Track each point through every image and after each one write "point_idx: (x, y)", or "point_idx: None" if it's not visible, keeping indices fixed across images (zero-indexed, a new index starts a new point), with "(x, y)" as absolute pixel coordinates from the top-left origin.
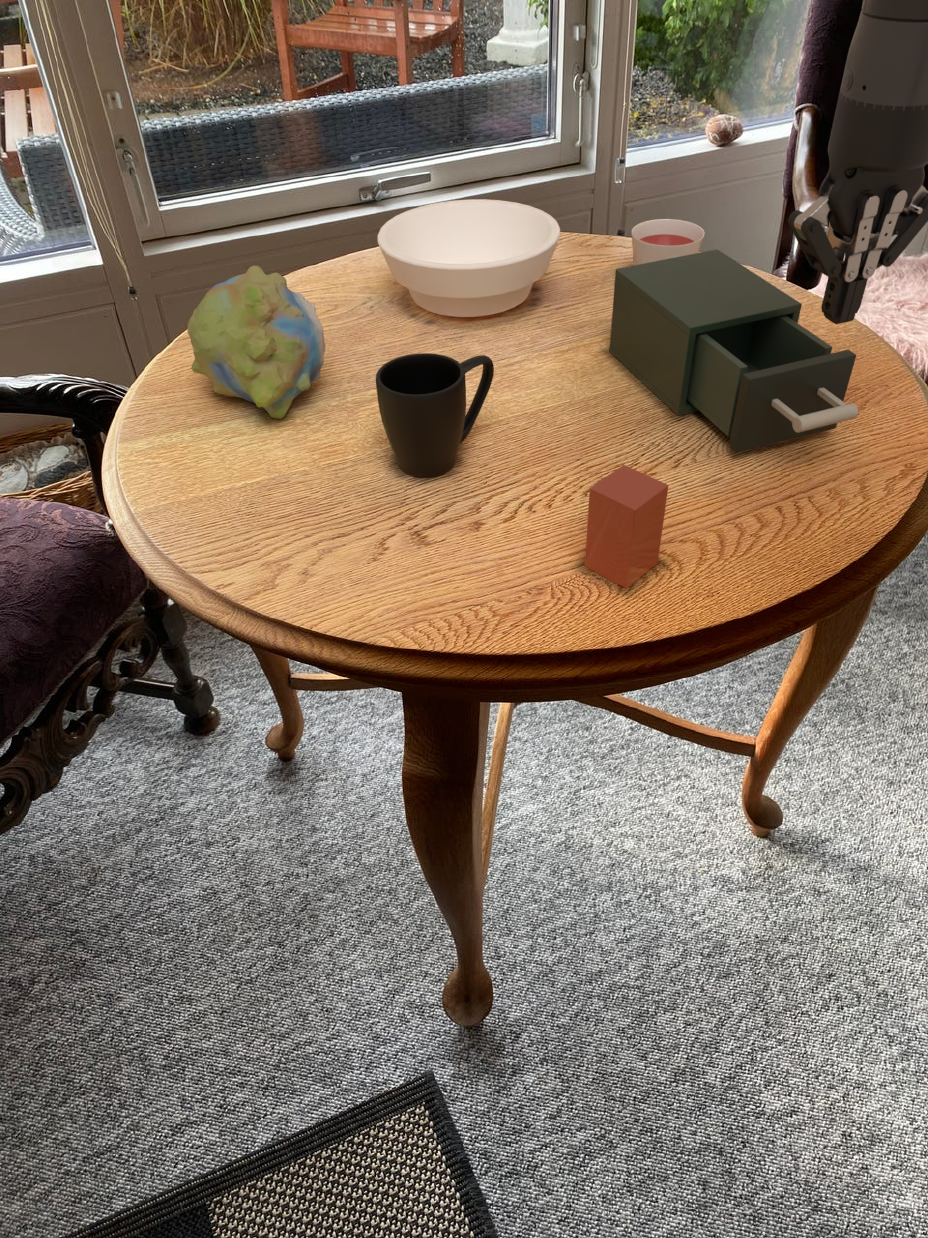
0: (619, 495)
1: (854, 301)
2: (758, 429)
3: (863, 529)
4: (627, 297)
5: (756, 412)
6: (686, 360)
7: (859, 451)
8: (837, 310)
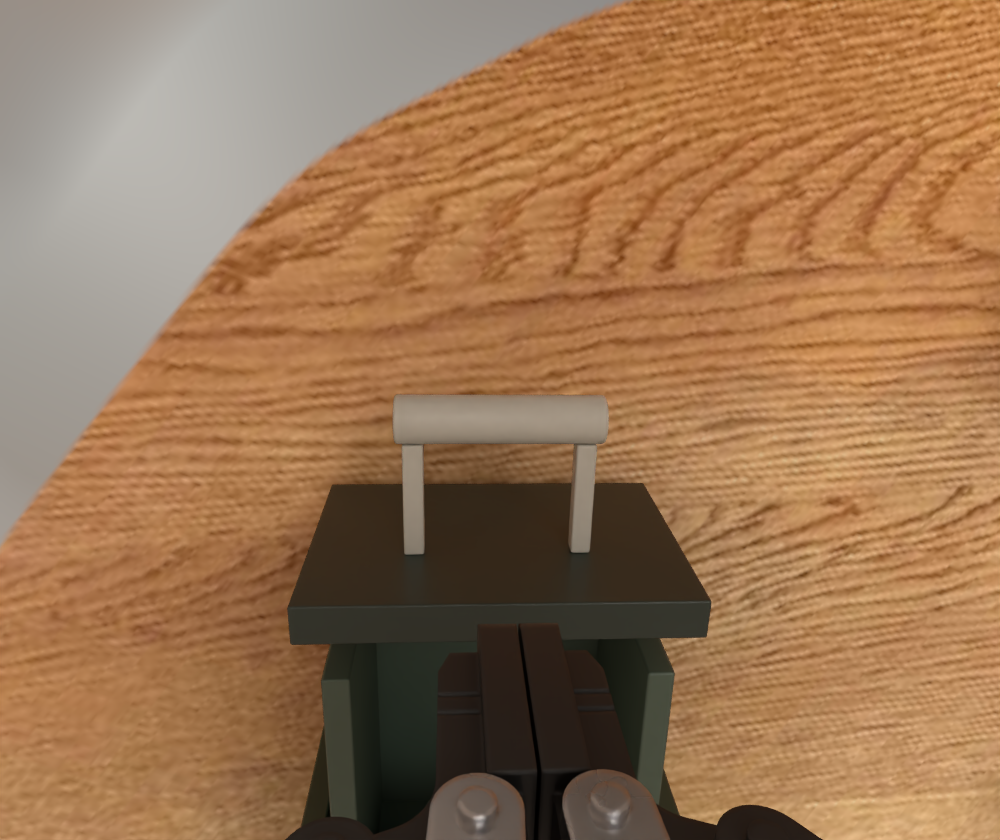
0: None
1: (507, 684)
2: (598, 508)
3: (531, 89)
4: None
5: (629, 536)
6: (671, 795)
7: (313, 392)
8: (572, 674)
